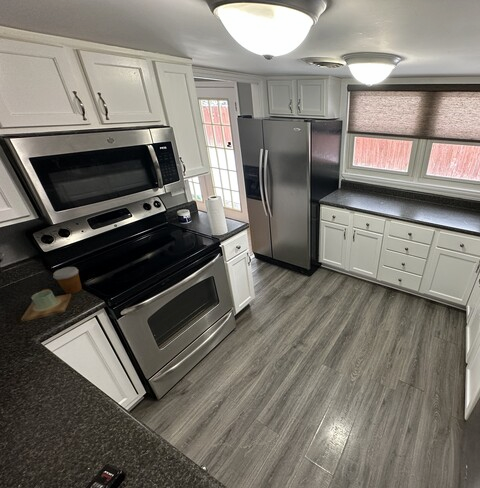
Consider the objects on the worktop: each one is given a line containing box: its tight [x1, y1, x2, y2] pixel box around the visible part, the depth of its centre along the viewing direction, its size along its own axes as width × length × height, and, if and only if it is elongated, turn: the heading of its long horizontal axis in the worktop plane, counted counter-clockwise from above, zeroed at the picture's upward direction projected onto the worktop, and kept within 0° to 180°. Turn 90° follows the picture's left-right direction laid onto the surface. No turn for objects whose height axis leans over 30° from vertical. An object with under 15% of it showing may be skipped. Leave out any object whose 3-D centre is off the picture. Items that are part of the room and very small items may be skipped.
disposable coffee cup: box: [52, 266, 83, 295], centre depth 135 cm, size 10×10×12 cm
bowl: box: [30, 288, 61, 312], centre depth 123 cm, size 10×10×6 cm
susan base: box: [20, 293, 72, 323], centre depth 124 cm, size 14×14×2 cm
